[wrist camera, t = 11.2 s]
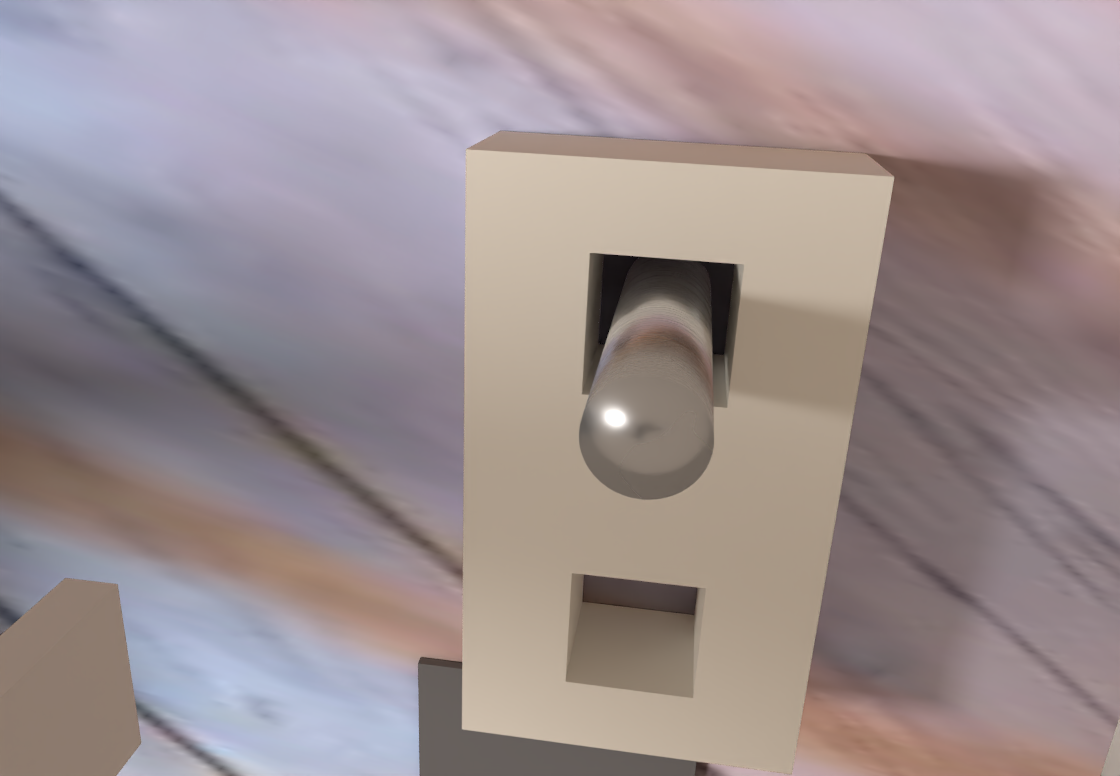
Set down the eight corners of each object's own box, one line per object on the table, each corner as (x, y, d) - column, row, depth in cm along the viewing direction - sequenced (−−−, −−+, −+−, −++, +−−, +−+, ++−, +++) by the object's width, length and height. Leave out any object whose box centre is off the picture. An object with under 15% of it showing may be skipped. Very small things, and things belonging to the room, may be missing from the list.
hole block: (490, 646, 40) (461, 729, 35) (500, 130, 32) (465, 149, 27) (781, 683, 38) (791, 774, 34) (865, 153, 30) (894, 176, 26)
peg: (621, 325, 34) (575, 492, 22) (628, 243, 33) (582, 370, 21) (706, 333, 33) (706, 506, 21) (715, 249, 32) (721, 382, 20)
